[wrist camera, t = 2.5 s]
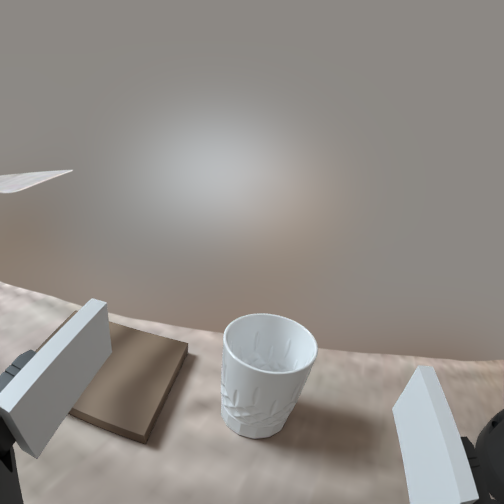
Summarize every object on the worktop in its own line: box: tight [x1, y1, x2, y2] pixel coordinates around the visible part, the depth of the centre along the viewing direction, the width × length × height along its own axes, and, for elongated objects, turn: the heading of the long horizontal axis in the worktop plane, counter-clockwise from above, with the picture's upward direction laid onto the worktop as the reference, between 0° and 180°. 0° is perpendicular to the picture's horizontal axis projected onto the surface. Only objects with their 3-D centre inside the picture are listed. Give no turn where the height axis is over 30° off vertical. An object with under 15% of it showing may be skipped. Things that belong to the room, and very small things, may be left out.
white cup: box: [221, 314, 318, 439], centre depth 28 cm, size 8×8×10 cm
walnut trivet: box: [35, 311, 188, 444], centre depth 31 cm, size 16×14×2 cm
